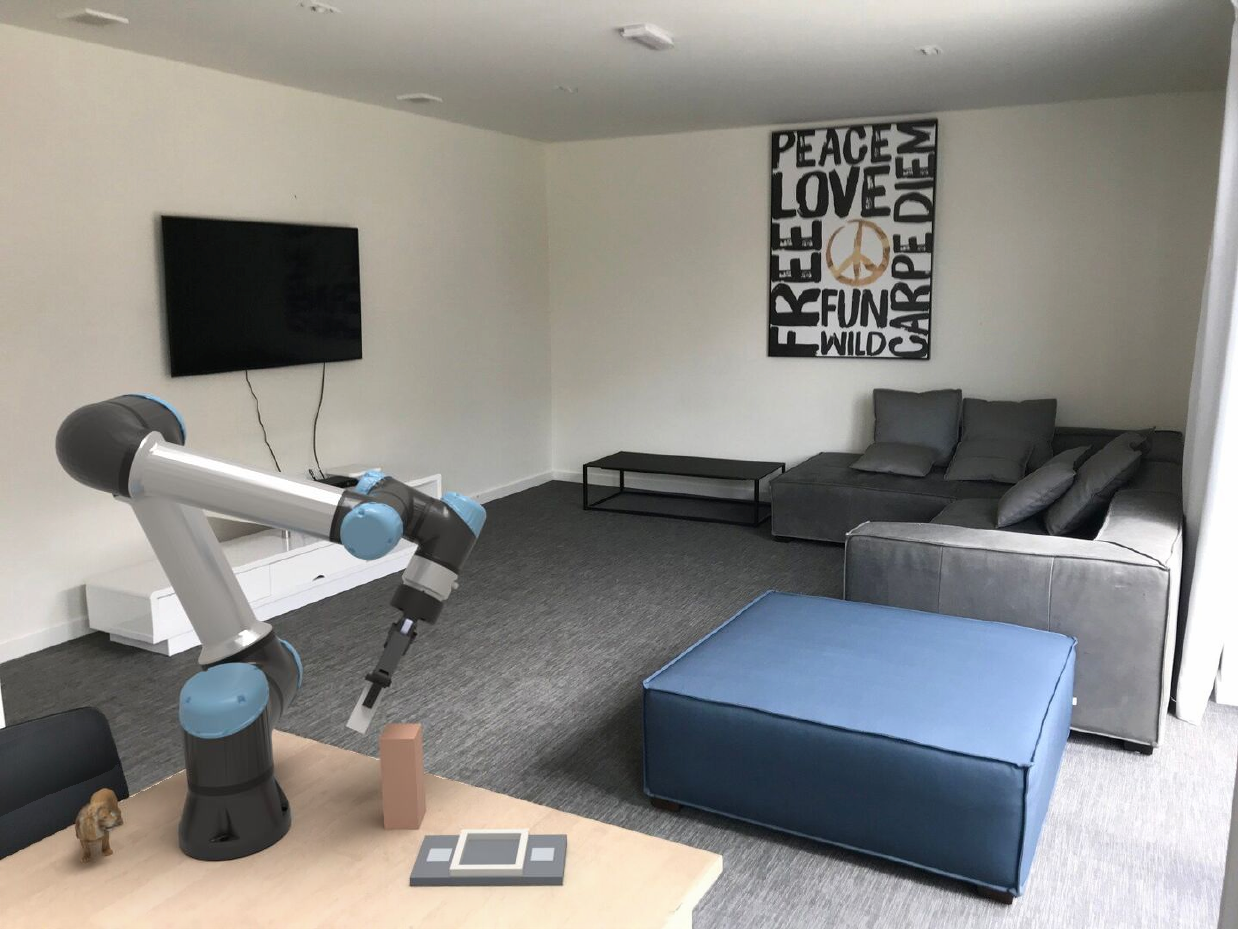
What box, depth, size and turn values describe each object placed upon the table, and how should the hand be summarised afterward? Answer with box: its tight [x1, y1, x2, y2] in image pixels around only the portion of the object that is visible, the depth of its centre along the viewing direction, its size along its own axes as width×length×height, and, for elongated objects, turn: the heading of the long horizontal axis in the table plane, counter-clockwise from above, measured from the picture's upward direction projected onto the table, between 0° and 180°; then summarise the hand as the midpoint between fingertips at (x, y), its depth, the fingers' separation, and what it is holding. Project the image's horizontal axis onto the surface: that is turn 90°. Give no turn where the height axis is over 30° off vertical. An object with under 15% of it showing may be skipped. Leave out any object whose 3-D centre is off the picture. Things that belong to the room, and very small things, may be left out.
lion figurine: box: [74, 787, 124, 863], centre depth 139 cm, size 15×5×9 cm, turn 25°
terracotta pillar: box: [378, 722, 427, 830], centre depth 144 cm, size 5×5×14 cm
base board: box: [409, 828, 568, 887], centre depth 134 cm, size 20×10×2 cm, turn 89°
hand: (355, 727), depth 141 cm, fingers open, 13 cm apart
